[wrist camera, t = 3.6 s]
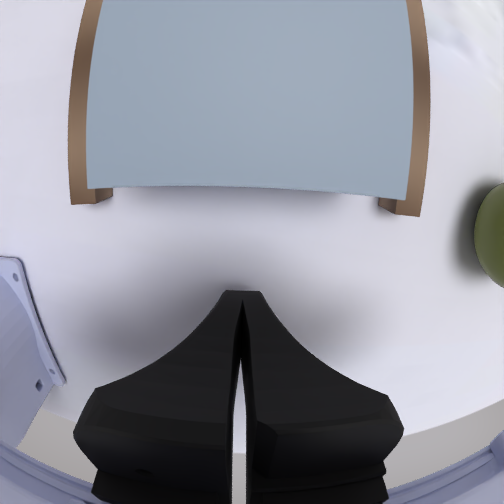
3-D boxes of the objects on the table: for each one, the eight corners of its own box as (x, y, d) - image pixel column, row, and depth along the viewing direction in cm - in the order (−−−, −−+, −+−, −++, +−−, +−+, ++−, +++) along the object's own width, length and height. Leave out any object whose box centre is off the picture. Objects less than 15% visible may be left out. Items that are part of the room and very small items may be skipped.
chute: (401, 207, 11) (419, 216, 9) (89, 196, 10) (70, 204, 9) (404, 4, 7) (419, -7, 6) (106, -9, 7) (92, -22, 5)
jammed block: (352, 178, 10) (405, 200, 6) (140, 171, 10) (87, 189, 6) (357, 36, 8) (405, -3, 4) (149, 27, 8) (107, -17, 4)
